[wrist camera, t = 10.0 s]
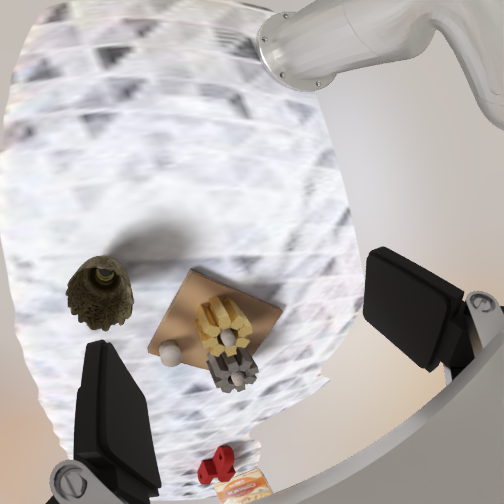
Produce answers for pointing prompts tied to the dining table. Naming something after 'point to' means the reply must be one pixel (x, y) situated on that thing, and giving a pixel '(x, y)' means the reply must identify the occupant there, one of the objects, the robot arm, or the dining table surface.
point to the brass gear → (222, 325)
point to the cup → (100, 294)
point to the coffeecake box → (243, 488)
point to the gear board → (187, 314)
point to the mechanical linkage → (217, 466)
